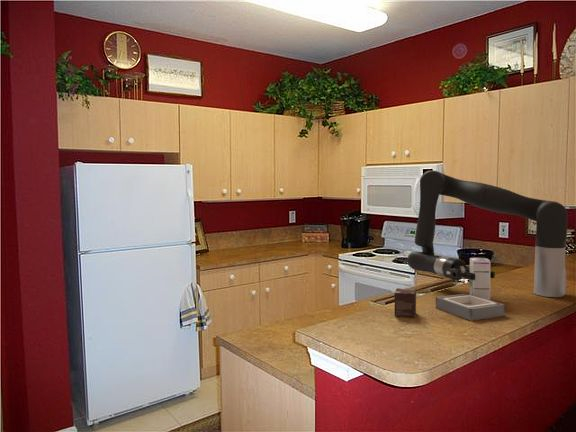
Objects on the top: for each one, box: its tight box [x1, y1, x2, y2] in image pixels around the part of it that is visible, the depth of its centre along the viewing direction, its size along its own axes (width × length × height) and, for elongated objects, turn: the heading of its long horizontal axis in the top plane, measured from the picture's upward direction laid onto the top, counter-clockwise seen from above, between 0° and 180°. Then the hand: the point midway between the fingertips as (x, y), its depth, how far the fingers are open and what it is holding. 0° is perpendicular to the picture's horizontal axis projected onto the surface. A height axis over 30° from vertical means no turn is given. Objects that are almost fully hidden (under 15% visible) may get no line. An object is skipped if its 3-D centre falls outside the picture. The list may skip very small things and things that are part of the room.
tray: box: [435, 293, 506, 322], centre depth 139 cm, size 13×15×3 cm
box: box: [394, 288, 417, 319], centre depth 136 cm, size 6×6×7 cm
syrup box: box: [468, 257, 491, 300], centre depth 150 cm, size 6×6×14 cm
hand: (484, 276), depth 148 cm, fingers closed on syrup box, 8 cm apart
